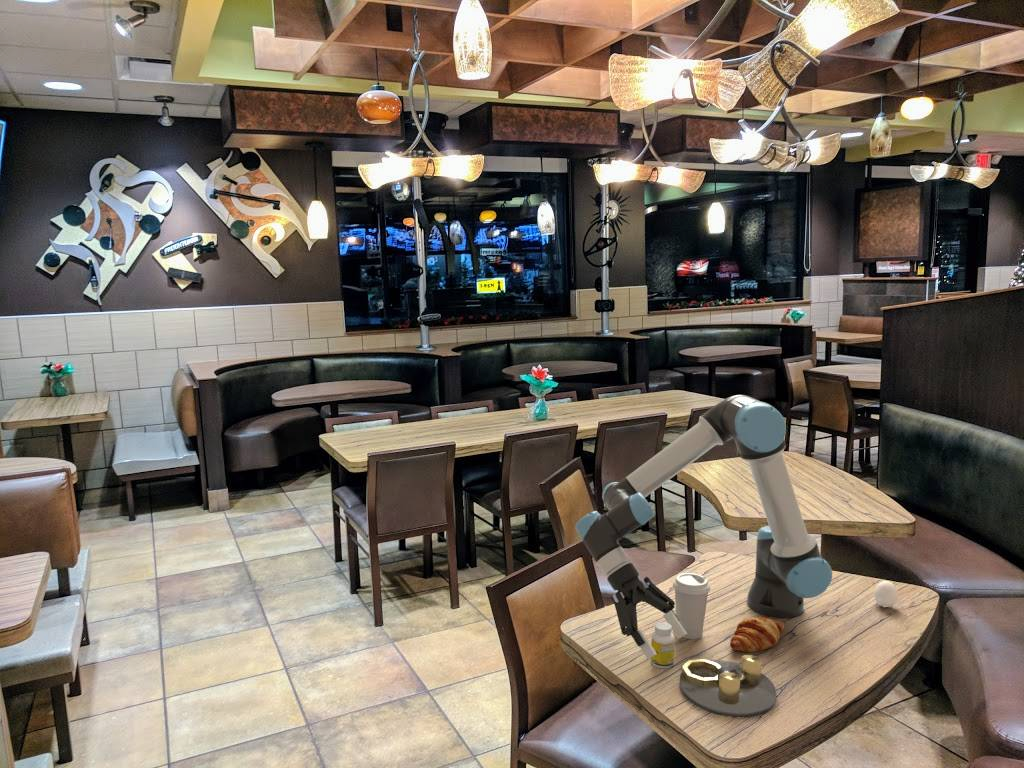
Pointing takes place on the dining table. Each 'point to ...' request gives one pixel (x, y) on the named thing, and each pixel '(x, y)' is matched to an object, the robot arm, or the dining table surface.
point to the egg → (886, 594)
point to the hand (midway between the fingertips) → (668, 646)
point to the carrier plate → (746, 693)
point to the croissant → (756, 634)
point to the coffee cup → (691, 602)
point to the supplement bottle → (663, 645)
